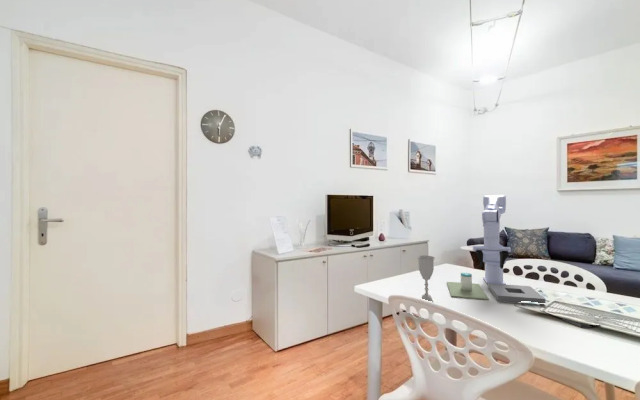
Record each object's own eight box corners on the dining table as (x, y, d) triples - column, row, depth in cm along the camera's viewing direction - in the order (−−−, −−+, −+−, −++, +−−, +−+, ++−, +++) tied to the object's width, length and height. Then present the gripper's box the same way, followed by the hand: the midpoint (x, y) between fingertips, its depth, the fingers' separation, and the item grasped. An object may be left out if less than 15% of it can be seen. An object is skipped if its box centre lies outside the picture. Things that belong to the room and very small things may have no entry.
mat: (446, 282, 141) (446, 281, 141) (478, 285, 136) (478, 283, 136) (451, 297, 122) (451, 295, 122) (488, 300, 118) (488, 298, 118)
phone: (555, 305, 108) (601, 322, 93) (555, 308, 108) (601, 326, 93) (538, 308, 107) (582, 325, 92) (538, 311, 107) (582, 329, 92)
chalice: (437, 304, 114) (436, 259, 114) (419, 303, 116) (418, 259, 115) (433, 297, 122) (432, 255, 121) (417, 297, 123) (416, 255, 123)
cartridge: (459, 289, 129) (459, 274, 129) (463, 287, 132) (462, 272, 132) (469, 291, 126) (469, 276, 126) (473, 289, 129) (473, 273, 129)
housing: (488, 288, 131) (488, 283, 131) (530, 291, 126) (530, 286, 126) (497, 301, 116) (497, 295, 116) (545, 305, 110) (545, 299, 110)
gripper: (474, 237, 127) (475, 268, 127) (512, 238, 122) (513, 270, 122) (471, 235, 133) (472, 265, 133) (507, 236, 129) (508, 266, 129)
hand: (491, 267), depth 128 cm, fingers open, 7 cm apart
